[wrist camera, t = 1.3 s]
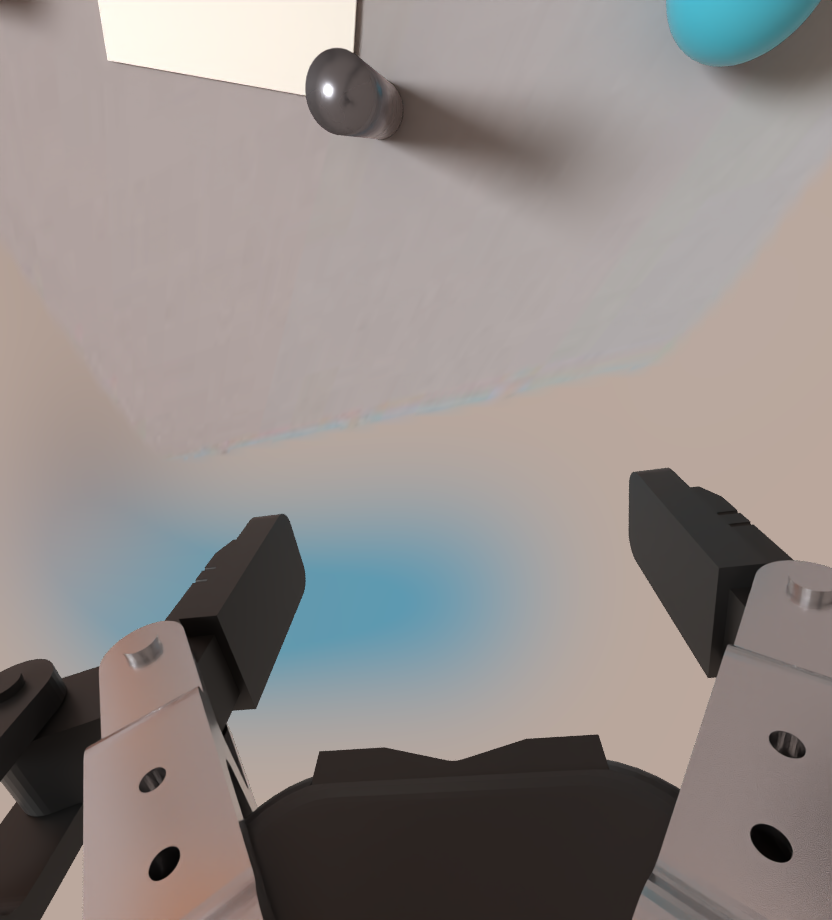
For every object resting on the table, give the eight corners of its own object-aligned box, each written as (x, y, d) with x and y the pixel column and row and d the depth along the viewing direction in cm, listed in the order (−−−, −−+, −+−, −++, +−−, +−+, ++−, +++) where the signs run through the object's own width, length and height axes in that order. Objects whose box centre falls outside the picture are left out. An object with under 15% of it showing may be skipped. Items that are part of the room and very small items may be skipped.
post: (356, 74, 25) (305, 41, 17) (406, 83, 25) (376, 54, 17) (353, 134, 26) (304, 129, 19) (399, 143, 26) (370, 140, 19)
